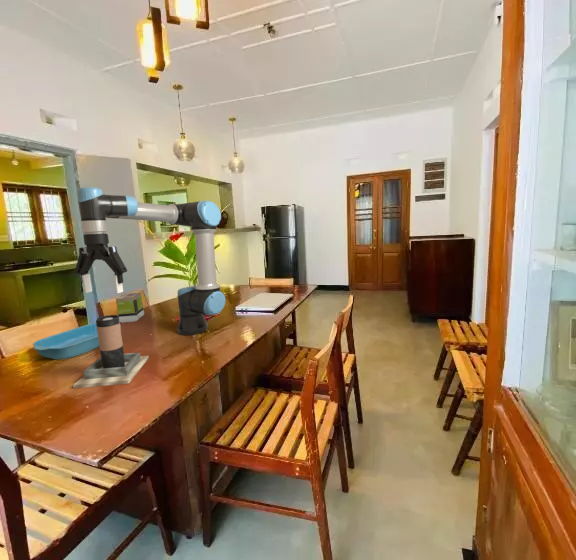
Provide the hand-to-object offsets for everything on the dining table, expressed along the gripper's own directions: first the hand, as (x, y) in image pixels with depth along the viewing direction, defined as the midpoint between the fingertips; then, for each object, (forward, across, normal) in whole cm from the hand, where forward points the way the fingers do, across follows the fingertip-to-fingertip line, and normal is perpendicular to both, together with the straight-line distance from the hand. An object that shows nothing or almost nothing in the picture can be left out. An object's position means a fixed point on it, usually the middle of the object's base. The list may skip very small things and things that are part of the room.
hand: (103, 292), depth 117 cm
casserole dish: (+31, +36, -20) cm, 52 cm away
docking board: (+31, 0, 0) cm, 31 cm away
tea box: (+31, +46, -66) cm, 87 cm away
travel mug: (+30, 0, 0) cm, 30 cm away
